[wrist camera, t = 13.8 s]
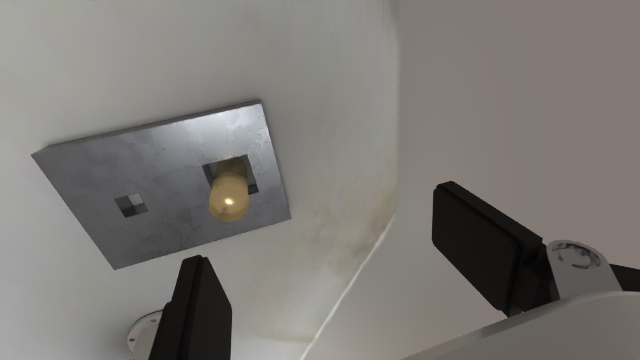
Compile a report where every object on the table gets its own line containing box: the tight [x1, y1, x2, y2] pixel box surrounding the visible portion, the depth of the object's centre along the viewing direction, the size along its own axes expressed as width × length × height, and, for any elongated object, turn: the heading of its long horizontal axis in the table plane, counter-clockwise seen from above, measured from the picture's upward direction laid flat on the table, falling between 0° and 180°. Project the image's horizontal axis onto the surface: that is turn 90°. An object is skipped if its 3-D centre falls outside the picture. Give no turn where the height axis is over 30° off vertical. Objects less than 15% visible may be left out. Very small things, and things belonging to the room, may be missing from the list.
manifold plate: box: [31, 100, 292, 270], centre depth 38 cm, size 18×26×3 cm
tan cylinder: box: [208, 157, 249, 222], centre depth 36 cm, size 4×4×10 cm
